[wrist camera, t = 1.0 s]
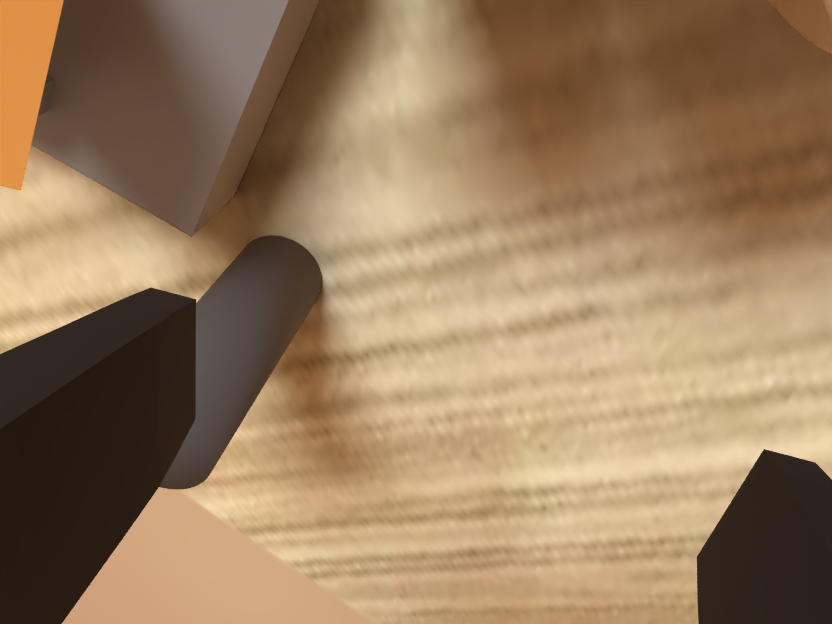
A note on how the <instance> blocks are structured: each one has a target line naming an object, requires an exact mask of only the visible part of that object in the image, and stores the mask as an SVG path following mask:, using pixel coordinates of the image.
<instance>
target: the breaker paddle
mask: <svg viewBox="0 0 832 624" xmlns="http://www.w3.org/2000/svg"><path fill="white" fill-rule="evenodd" d="M63 1H64V0H0V186H4V187H8V188H12V189H16V190H21V187H22V183H23V178H24V174H25V169H26V165H27V161H28V156H29V152H30V147H31V143H32V138H33V134H34V130H35V125H36V121H37V116H38V112H39V108H40V103H41V99H42V94H43V90H44V85H45V81H46V77H47V72H48V68H49V63H50V59H51V54H52V50H53V46H54V41H55V37H56V32H57V28H58V24H59V19H60V15H61V10H62V6H63Z"/></svg>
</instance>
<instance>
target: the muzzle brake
mask: <svg viewBox="0 0 832 624" xmlns="http://www.w3.org/2000/svg"><path fill="white" fill-rule="evenodd" d="M767 1H768V2H769V3H770V4H771V5H772V6H773V7H774V9H775V10H776V11H777V12H778V13H779V14H780V15H781V16H782V17H783V18H784V19H785V20H786V21H787V22H788V23H789V24H790V25H791V26H792V27H793V28H794V29H795V30H796V31H798V32H799V33H800V34H801V35H802V36H803V37H804V38H806V39H807V40H808V41H809V42H811V43H812V44H814V45H816V46H817V47H819V48H820V49H822V50H824V51H826V52H828V53H830V54H831V55H832V0H767Z"/></svg>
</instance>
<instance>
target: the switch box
mask: <svg viewBox="0 0 832 624" xmlns="http://www.w3.org/2000/svg"><path fill="white" fill-rule="evenodd" d="M319 1H320V0H64V1H63V6H62V10H61V15H60V19H59V24H58V28H57V32H56V37H55V41H54V46H53V50H52V54H51V59H50V63H49V68H48V72H47V77H46V81H45V85H44V90H43V94H42V99H41V103H40V108H39V112H38V116H37V121H36V125H35V130H34V134H33V138H32V143H31V145H33V146H35V147H37V148H38V149H40V150H42V151H44V152H45V153H47V154H49V155H51V156H52V157H54V158H56V159H57V160H59V161H61V162H63V163H64V164H66V165H68V166H70V167H71V168H73V169H75V170H77V171H78V172H80V173H82V174H84V175H85V176H87V177H89V178H91V179H92V180H94V181H96V182H97V183H99V184H101V185H103V186H104V187H106V188H108V189H110V190H111V191H113V192H115V193H117V194H118V195H120V196H122V197H124V198H125V199H127V200H129V201H131V202H132V203H134V204H136V205H137V206H139V207H141V208H143V209H144V210H146V211H148V212H150V213H151V214H153V215H155V216H157V217H158V218H160V219H162V220H164V221H165V222H167V223H169V224H170V225H172V226H174V227H176V228H177V229H179V230H181V231H183V232H184V233H186V234H188V235H190V236H191V237H192V236H193V235H194V234H195V233H196V232H197V231H198V230H199V229H200V228H201V227H202V226H203V225H204V224H205V223H206V222H208V221H209V220H210V219H211V218H212V217H213V216H214V215H215V214H216V213H217V212H218V211H219V210H220V209H221V208H222V207H223V206H224V205H225V204H226V203H227V202H228V201H230V200H231V199H232V198H233V197H234V196H235V194H236V191H237V189H238V187H239V185H240V182H241V180H242V178H243V175H244V173H245V171H246V169H247V166H248V164H249V162H250V159H251V157H252V155H253V152H254V150H255V148H256V146H257V143H258V141H259V139H260V136H261V134H262V132H263V130H264V127H265V125H266V123H267V120H268V118H269V116H270V114H271V111H272V109H273V107H274V104H275V102H276V100H277V97H278V95H279V93H280V91H281V88H282V86H283V84H284V81H285V79H286V77H287V75H288V72H289V70H290V68H291V65H292V63H293V61H294V59H295V56H296V54H297V52H298V49H299V47H300V45H301V42H302V40H303V38H304V36H305V33H306V31H307V29H308V26H309V24H310V22H311V20H312V17H313V15H314V13H315V10H316V8H317V6H318V3H319Z"/></svg>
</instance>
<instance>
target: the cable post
mask: <svg viewBox="0 0 832 624" xmlns="http://www.w3.org/2000/svg"><path fill="white" fill-rule="evenodd" d="M321 287H322V276H321V272H320V269H319V266H318V264H317V262H316V261H315V259H314V257H313V256H312V255H311V254H310V253H309V252H308V251H307V250H306V249H305V248H304V247H303V246H301V245H300V244H298V243H297V242H295V241H293V240H291V239H288V238H285V237H281V236H264V237H260V238H257V239H255V240H253V241H252V242H250V243H249V244H248V245H247V246H246V247H245V248H244V250H243V251H242V252H241V253H240V254H239V255H238V256H237V258H236V259H235V260H234V261H233V262H232V263H231V264H230V266H229V267H228V268H227V269H226V270H225V271H224V272H223V274H222V275H221V276H220V277H219V278H218V279H217V280H216V282H215V283H214V284H213V285H212V286H211V287H210V288H209V289H208V291H207V292H206V293H205V294H204V295H203V296H202V297H201V299H200V300H199V301H198V302H197V303H196V419H195V421H194V423H193V425H192V427H191V429H190V430H189V432H188V434H187V436H186V438H185V440H184V442H183V444H182V446H181V448H180V450H179V452H178V454H177V455H176V457H175V459H174V461H173V463H172V465H171V466H170V468H169V470H168V472H167V474H166V475H165V477H164V479H163V481H162V483H161V484H160V486H159V487H162V488H167V489H187V488H191V487H194V486H197V485H199V484H200V483H202V482H203V481H205V480H206V479H207V478H208V476H209V475H210V473H211V472H212V470H213V468H214V467H215V465H216V463H217V462H218V460H219V458H220V457H221V455H222V454H223V452H224V450H225V449H226V447H227V445H228V444H229V442H230V440H231V439H232V437H233V435H234V434H235V432H236V431H237V429H238V427H239V426H240V424H241V422H242V421H243V419H244V417H245V416H246V414H247V412H248V411H249V409H250V408H251V406H252V404H253V403H254V401H255V399H256V398H257V396H258V394H259V393H260V391H261V389H262V388H263V386H264V385H265V383H266V381H267V380H268V378H269V376H270V375H271V373H272V371H273V370H274V368H275V366H276V365H277V363H278V362H279V360H280V358H281V357H282V355H283V353H284V352H285V350H286V348H287V347H288V345H289V344H290V342H291V340H292V339H293V337H294V335H295V334H296V332H297V330H298V329H299V327H300V325H301V324H302V322H303V321H304V319H305V317H306V316H307V314H308V312H309V311H310V309H311V307H312V306H313V304H314V302H315V301H316V299H317V298H318V296H319V294H320V291H321Z"/></svg>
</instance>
